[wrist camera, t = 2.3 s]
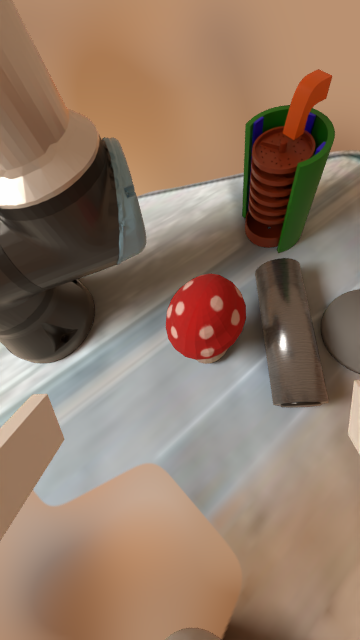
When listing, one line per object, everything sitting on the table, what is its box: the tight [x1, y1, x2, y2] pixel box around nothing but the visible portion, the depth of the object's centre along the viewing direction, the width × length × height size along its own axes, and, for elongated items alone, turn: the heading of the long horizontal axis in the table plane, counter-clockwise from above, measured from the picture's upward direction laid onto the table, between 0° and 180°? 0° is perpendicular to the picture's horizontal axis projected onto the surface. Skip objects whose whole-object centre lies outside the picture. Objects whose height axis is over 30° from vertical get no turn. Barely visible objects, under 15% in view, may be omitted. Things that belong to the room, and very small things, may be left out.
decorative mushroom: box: [166, 274, 246, 364], centre depth 33 cm, size 10×9×15 cm
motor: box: [242, 69, 335, 253], centre depth 36 cm, size 10×9×20 cm
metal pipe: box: [255, 258, 329, 407], centre depth 36 cm, size 6×18×6 cm, turn 1°
